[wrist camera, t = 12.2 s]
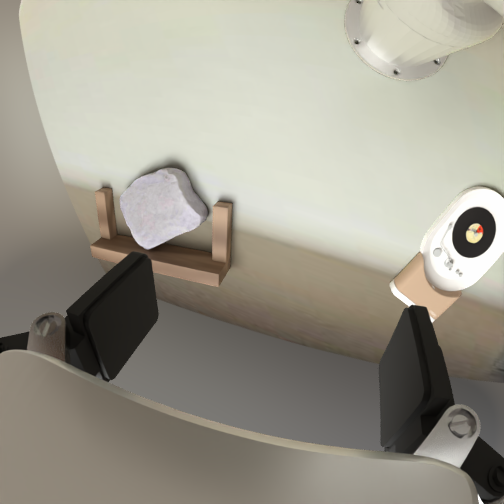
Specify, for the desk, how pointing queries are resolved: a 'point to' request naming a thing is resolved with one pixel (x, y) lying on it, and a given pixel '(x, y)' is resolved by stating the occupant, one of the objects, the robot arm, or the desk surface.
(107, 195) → the walnut frame
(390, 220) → the desk surface
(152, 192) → the stone block
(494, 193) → the record player
